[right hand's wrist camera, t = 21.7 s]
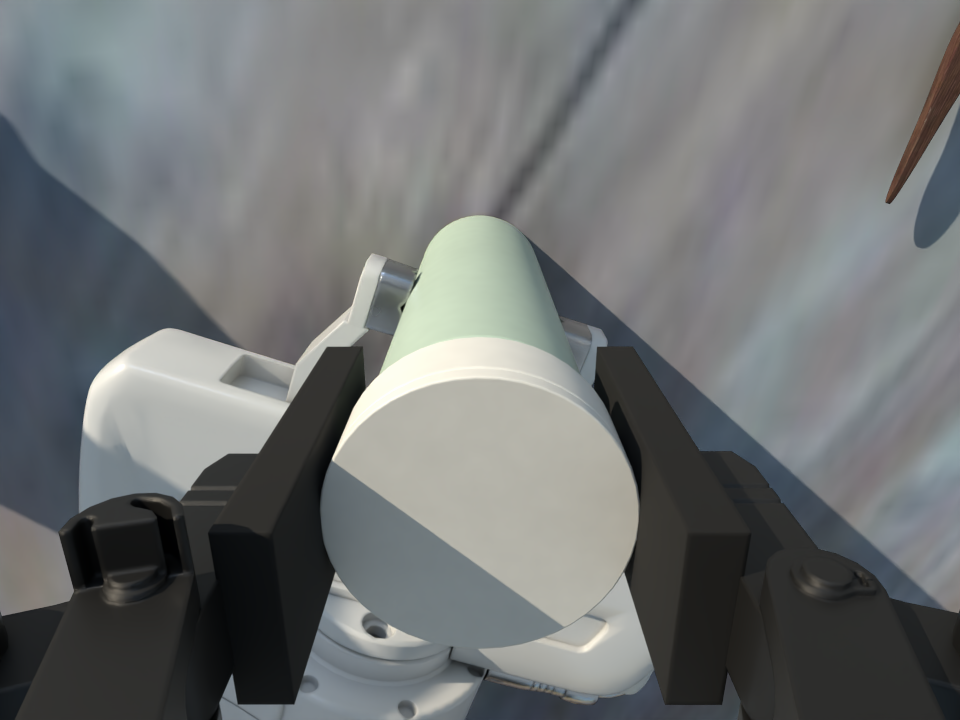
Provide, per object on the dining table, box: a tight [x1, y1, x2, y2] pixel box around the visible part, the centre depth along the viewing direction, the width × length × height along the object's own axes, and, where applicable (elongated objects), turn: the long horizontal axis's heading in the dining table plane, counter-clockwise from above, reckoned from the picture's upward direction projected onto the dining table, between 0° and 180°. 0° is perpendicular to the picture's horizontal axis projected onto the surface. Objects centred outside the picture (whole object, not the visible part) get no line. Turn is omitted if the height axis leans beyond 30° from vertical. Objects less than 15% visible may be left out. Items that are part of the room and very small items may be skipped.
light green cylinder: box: [379, 216, 581, 375], centre depth 18 cm, size 4×4×16 cm
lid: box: [320, 337, 640, 649], centre depth 11 cm, size 5×5×2 cm
